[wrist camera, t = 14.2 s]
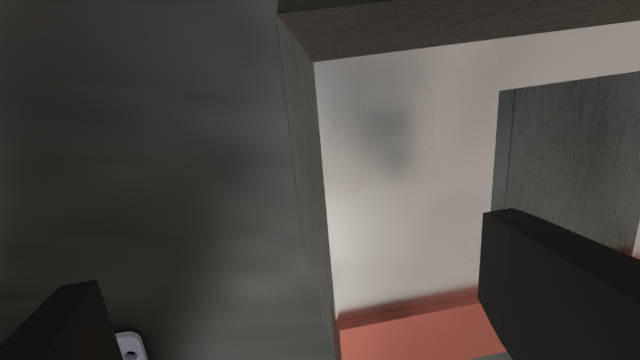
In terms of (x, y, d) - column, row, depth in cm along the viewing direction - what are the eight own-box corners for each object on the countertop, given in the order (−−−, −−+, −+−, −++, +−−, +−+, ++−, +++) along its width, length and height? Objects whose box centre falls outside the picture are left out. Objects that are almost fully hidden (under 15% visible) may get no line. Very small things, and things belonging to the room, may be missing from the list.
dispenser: (596, 193, 23) (751, 299, 16) (302, 244, 21) (344, 385, 15) (634, -28, 19) (858, -3, 12) (276, 14, 17) (317, 66, 11)
